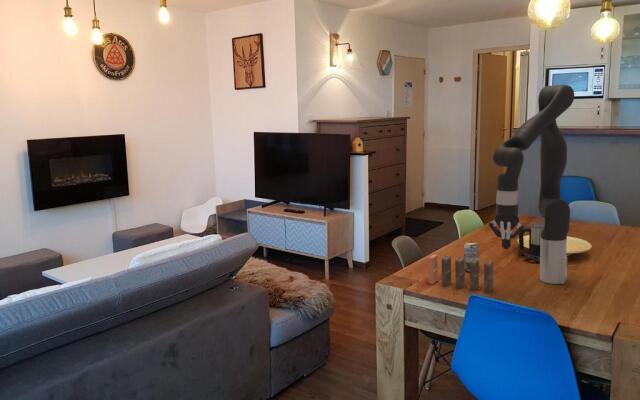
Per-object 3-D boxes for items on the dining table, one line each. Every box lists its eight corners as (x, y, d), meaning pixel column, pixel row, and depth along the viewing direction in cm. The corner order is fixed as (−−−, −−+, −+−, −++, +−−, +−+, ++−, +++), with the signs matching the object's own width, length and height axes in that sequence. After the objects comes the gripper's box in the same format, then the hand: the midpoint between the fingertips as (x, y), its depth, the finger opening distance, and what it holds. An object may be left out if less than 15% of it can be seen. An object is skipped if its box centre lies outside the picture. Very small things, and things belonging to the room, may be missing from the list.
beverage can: (469, 273, 213) (469, 246, 211) (460, 269, 220) (460, 242, 218) (482, 271, 215) (482, 244, 213) (473, 267, 222) (473, 240, 220)
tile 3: (464, 284, 201) (464, 257, 199) (460, 288, 197) (460, 261, 195) (459, 283, 202) (459, 257, 200) (455, 287, 198) (455, 260, 196)
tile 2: (478, 286, 198) (478, 259, 196) (475, 290, 194) (474, 263, 192) (473, 285, 199) (473, 258, 197) (469, 289, 195) (469, 262, 193)
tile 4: (451, 282, 204) (451, 256, 202) (447, 286, 200) (446, 259, 198) (446, 282, 205) (445, 255, 203) (441, 285, 201) (441, 259, 199)
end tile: (438, 280, 207) (437, 254, 205) (433, 284, 203) (433, 258, 201) (433, 280, 208) (432, 254, 206) (428, 284, 204) (428, 257, 202)
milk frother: (546, 252, 237) (546, 221, 235) (561, 262, 222) (561, 229, 219) (515, 254, 238) (515, 223, 235) (528, 264, 222) (528, 231, 220)
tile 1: (493, 288, 195) (493, 261, 193) (489, 292, 191) (489, 264, 189) (487, 287, 196) (487, 260, 194) (484, 292, 192) (483, 264, 190)
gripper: (485, 203, 185) (485, 249, 188) (524, 205, 177) (522, 253, 180) (491, 199, 191) (490, 244, 194) (528, 201, 184) (527, 248, 187)
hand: (506, 248), depth 187 cm, fingers closed
